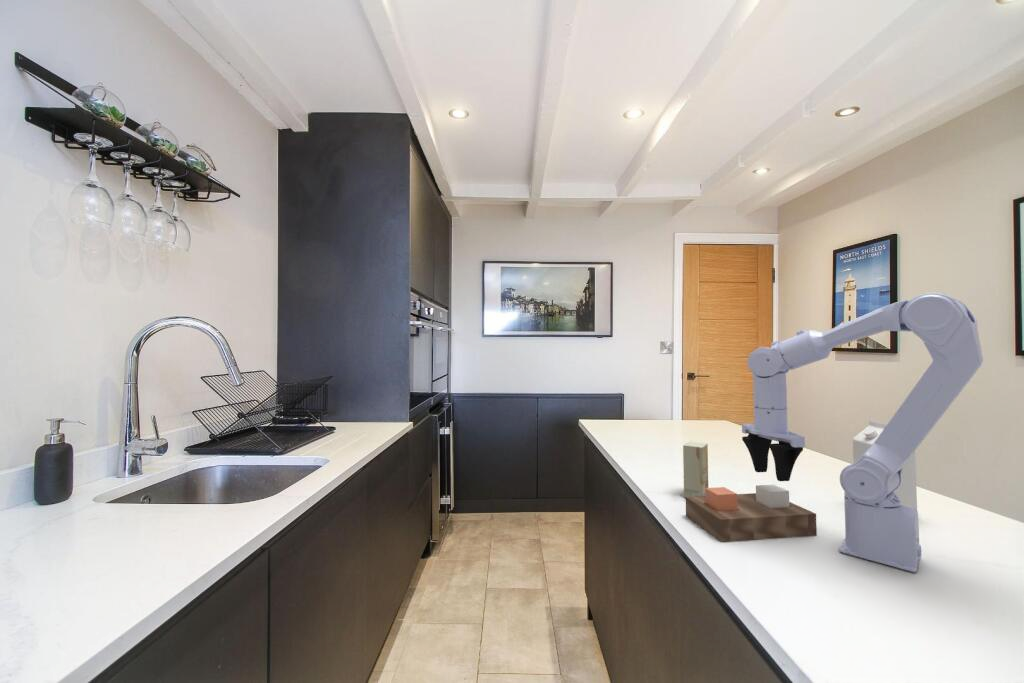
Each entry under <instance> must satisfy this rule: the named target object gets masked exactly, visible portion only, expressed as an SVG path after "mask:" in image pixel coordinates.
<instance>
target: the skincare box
mask: <svg viewBox="0 0 1024 683" xmlns="http://www.w3.org/2000/svg"><path fill="white" fill-rule="evenodd" d="M682 455H683V457H682V460H683V461H682V462H683V497H684V498H686V497H694V496H706V492H705V488H709V457H708V456H709V451H708V443H705V442H700V441H699V442H698V441H697V442H695V441H688V442H686V443H685V444H683V446H682Z"/></svg>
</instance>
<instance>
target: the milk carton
mask: <svg viewBox="0 0 1024 683" xmlns="http://www.w3.org/2000/svg"><path fill="white" fill-rule="evenodd" d="M887 424H888V423H883V422H878V421H875V420H868V426H866V427H865V428H864V429H863V430H862V431H860V432H859V433H858V434H857V435H855V436H854V437H853V438H852V452H853V453H852V454H853V456H852V457H853V458H852V460H853V464H854V463H856V462H857V461H858V460H859V459H860V458H861V456H862V455H863V454H864V453H865V452H866V451H867V450H868V449H869V448H870V447H871V446H872V444H873V443H874V442H875V441H876V439H877V438H878V437H879V435H880V434H881V432H882V431H883V430H884V428H885V427H886V426H887ZM916 465H917V464H916V451H915V452H914V453H913V454H912V455H911V457H910V458H909V461H908V463H907V464H906V466H905V467H904V468H903V470H902V474H901V476H902V481H901V484H900V486H899V487H898V488H897V489H896V490H894V493H895V494H896V496H897V497H898V499H899V500H900V504H901V505H903V506H906V507H910V508H914V509H917V510H918V495H917V468H916V467H917V466H916Z"/></svg>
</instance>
